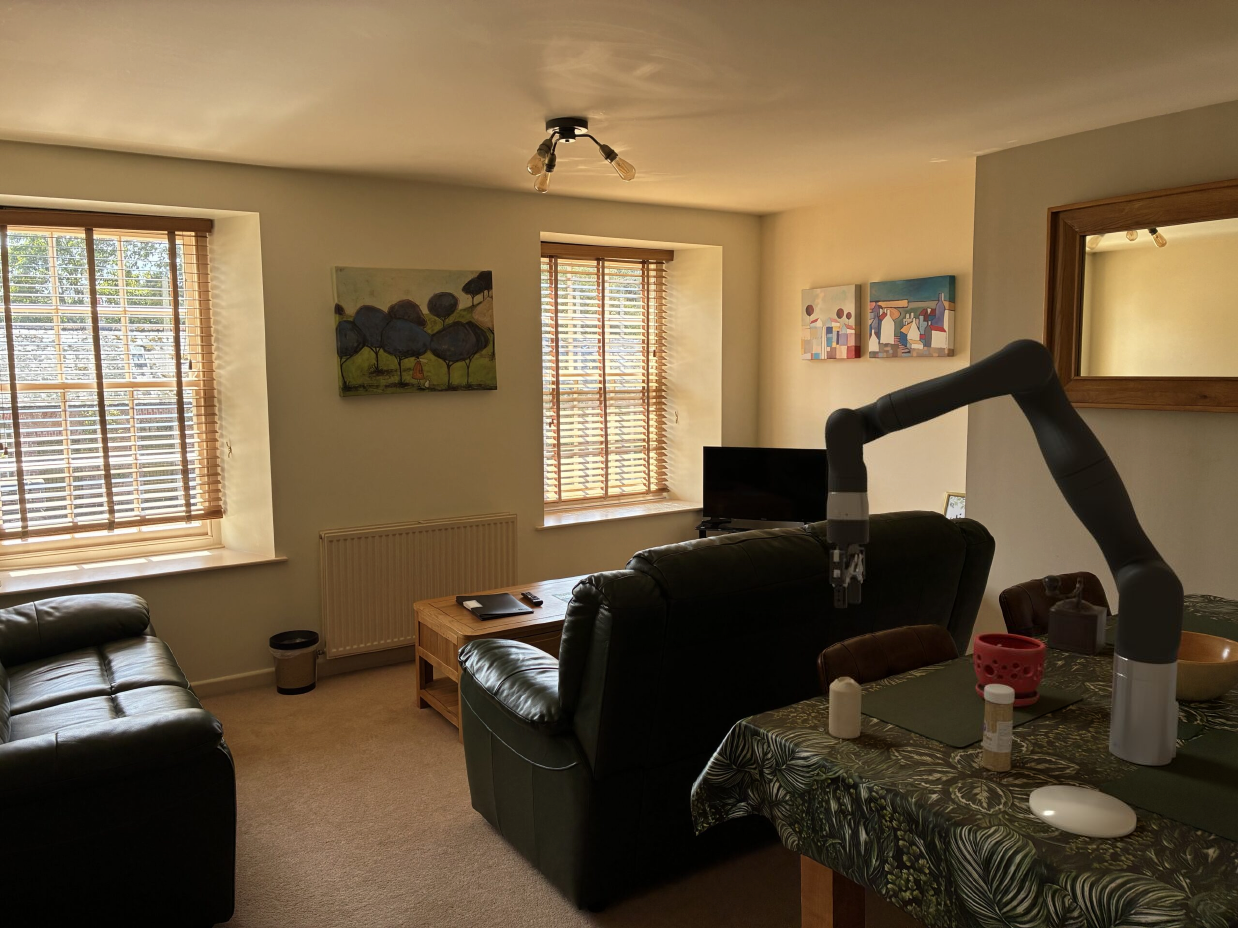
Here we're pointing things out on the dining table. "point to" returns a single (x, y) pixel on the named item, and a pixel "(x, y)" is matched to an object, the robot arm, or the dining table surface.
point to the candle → (845, 708)
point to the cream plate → (1082, 811)
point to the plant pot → (1010, 664)
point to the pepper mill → (1074, 621)
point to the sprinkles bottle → (998, 727)
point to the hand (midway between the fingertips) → (847, 605)
